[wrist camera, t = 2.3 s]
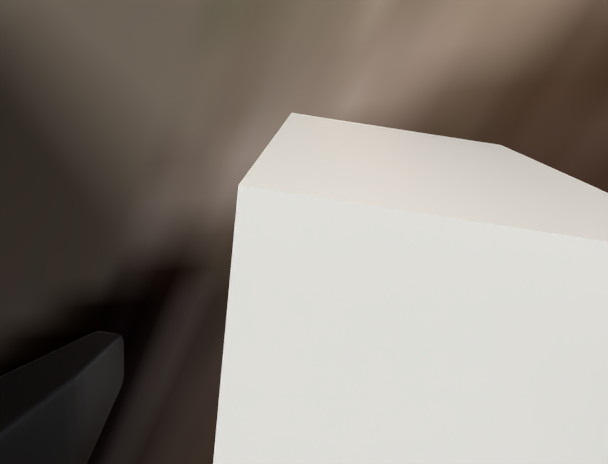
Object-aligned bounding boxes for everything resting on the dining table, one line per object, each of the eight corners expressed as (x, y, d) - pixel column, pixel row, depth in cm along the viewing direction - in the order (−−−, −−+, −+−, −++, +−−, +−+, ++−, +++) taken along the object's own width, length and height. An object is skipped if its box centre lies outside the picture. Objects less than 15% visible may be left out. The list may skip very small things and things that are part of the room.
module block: (499, 144, 9) (772, 266, 4) (410, 430, 12) (483, 742, 7) (291, 112, 9) (238, 184, 4) (253, 407, 12) (191, 700, 6)
